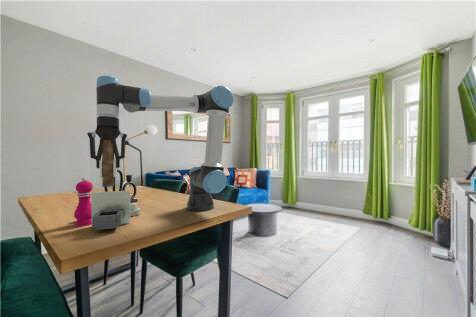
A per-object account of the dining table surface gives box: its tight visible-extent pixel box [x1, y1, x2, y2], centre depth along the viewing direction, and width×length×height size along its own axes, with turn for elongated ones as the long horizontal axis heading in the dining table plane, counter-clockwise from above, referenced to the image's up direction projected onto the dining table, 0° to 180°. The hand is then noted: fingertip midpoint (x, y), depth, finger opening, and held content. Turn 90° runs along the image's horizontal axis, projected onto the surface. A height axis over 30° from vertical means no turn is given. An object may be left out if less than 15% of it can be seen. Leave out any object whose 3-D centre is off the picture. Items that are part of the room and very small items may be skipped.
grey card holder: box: [90, 190, 131, 231], centre depth 85 cm, size 14×12×14 cm
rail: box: [101, 140, 115, 188], centre depth 83 cm, size 4×4×18 cm
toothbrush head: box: [130, 202, 141, 217], centre depth 100 cm, size 5×7×25 cm
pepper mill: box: [73, 176, 94, 227], centre depth 91 cm, size 7×7×20 cm
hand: (108, 176), depth 84 cm, fingers closed on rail, 4 cm apart
